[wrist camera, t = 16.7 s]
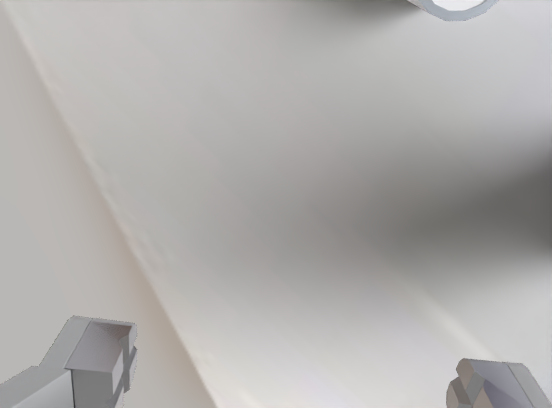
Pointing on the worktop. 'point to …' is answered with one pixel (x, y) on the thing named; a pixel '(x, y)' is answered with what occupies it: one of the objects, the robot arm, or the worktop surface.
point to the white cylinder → (454, 8)
